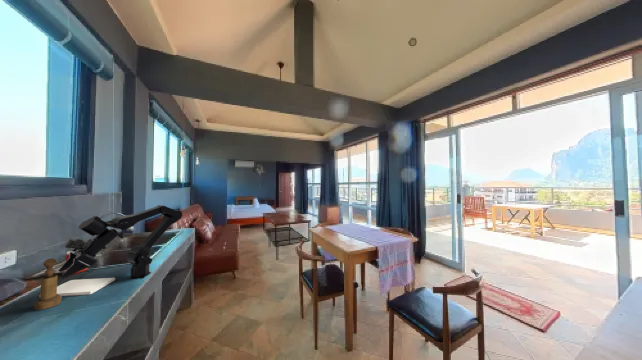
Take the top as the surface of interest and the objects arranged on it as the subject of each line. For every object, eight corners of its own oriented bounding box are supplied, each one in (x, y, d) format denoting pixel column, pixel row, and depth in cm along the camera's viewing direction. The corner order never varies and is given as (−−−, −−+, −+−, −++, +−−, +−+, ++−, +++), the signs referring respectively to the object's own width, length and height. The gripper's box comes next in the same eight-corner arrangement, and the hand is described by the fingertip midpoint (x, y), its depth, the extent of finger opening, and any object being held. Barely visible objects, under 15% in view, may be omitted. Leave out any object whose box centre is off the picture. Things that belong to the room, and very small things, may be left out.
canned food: (75, 275, 106) (76, 253, 106) (60, 274, 106) (61, 253, 107) (92, 268, 114) (92, 248, 114) (78, 268, 114) (78, 248, 114)
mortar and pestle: (65, 302, 83) (66, 257, 83) (38, 311, 77) (40, 263, 77) (56, 298, 85) (58, 255, 85) (30, 307, 79) (32, 260, 79)
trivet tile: (114, 280, 102) (114, 277, 102) (90, 294, 89) (90, 291, 89) (71, 282, 98) (71, 280, 98) (39, 297, 86) (39, 294, 86)
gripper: (79, 227, 93) (36, 259, 84) (86, 234, 83) (38, 270, 73) (103, 241, 100) (66, 272, 90) (113, 248, 89) (71, 284, 80)
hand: (60, 274), depth 83 cm, fingers open, 9 cm apart
